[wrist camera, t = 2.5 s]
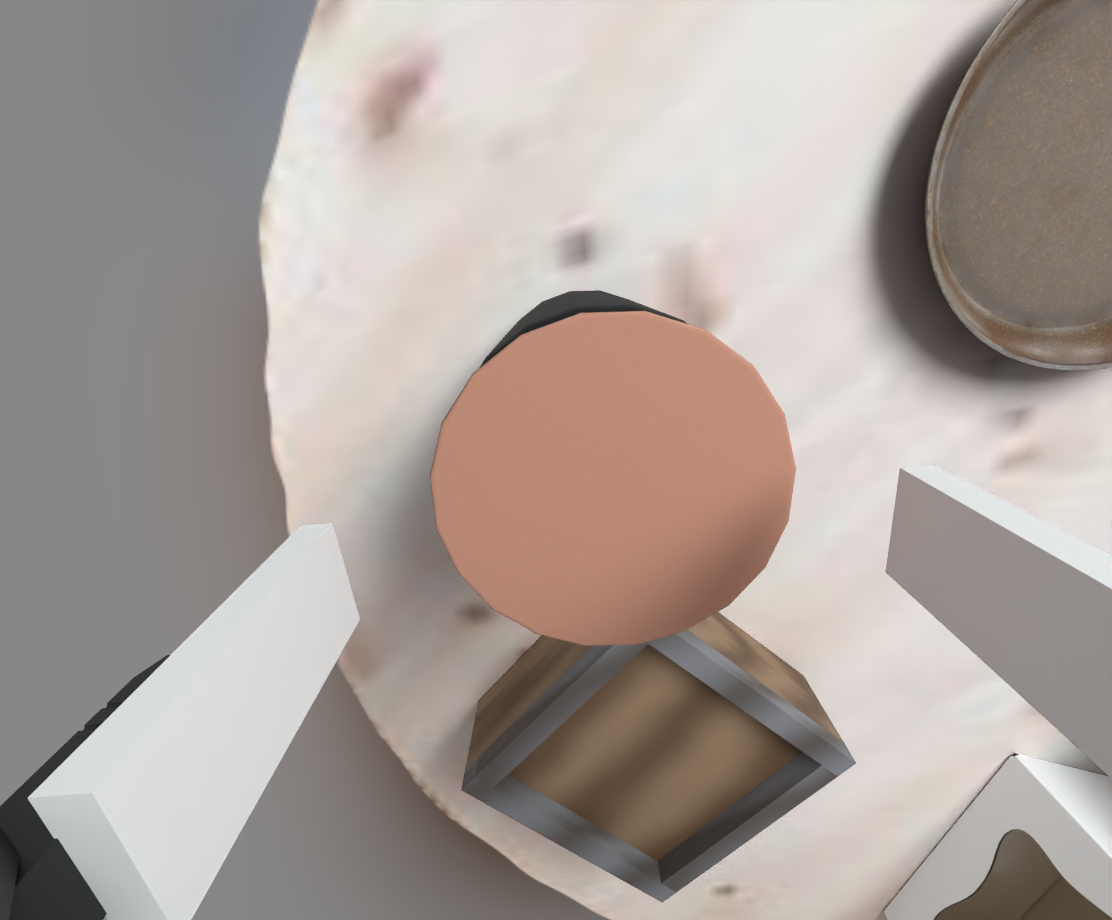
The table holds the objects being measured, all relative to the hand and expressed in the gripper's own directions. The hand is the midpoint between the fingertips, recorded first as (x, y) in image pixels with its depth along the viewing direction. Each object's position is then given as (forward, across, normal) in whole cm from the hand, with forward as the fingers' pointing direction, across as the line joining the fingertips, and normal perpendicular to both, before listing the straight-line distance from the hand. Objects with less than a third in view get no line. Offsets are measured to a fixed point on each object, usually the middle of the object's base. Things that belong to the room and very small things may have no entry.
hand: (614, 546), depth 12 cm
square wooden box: (+21, -2, +25) cm, 33 cm away
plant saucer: (+21, -29, -8) cm, 37 cm away
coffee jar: (+21, 0, 0) cm, 21 cm away
